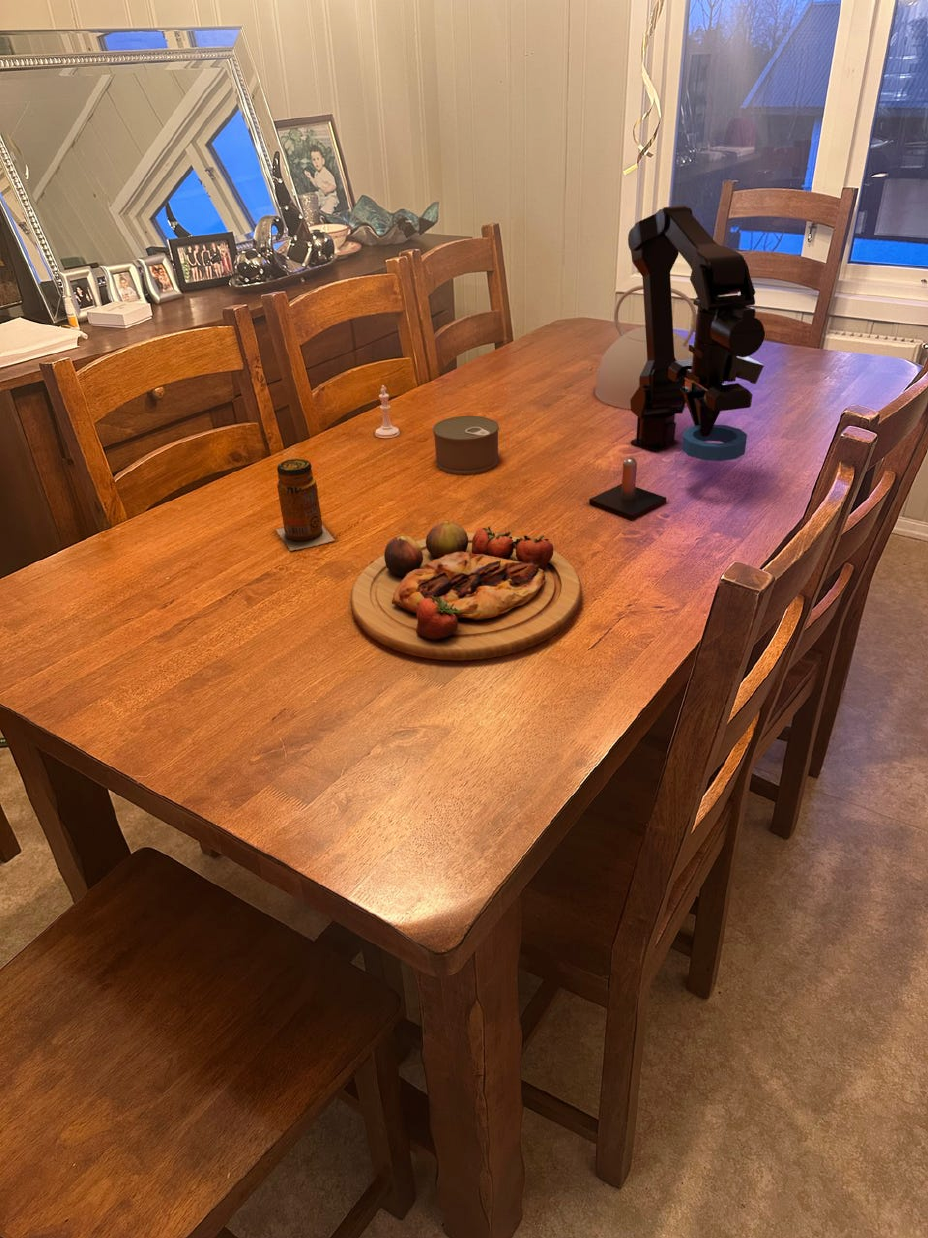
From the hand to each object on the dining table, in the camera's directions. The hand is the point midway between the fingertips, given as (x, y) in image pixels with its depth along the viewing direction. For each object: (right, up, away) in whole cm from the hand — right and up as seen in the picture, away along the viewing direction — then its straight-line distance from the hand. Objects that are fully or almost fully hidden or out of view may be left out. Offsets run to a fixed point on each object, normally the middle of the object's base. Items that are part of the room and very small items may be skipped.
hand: (702, 434), depth 146 cm
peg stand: (-13, -12, -1) cm, 18 cm away
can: (-39, -2, +17) cm, 43 cm away
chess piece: (-56, +6, +31) cm, 64 cm away
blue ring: (+1, -3, -3) cm, 4 cm away
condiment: (-66, -18, -6) cm, 68 cm away
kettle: (+1, +18, +44) cm, 48 cm away
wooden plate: (-40, -28, -24) cm, 55 cm away
